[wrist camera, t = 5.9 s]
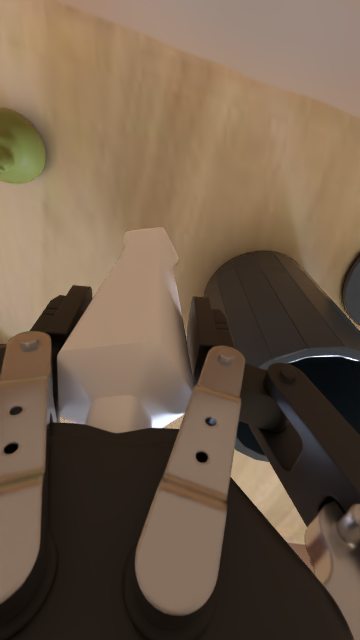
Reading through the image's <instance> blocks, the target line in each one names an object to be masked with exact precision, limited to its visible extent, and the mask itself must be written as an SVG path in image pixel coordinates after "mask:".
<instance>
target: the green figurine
mask: <svg viewBox="0 0 360 640" xmlns="http://www.w3.org/2000/svg"><path fill="white" fill-rule="evenodd" d="M45 161H46V153H45V147H44V144H43V141H42V139H41V136H40V135H39V133H38V131H37V130H36V128H35V127H34V126H33V125H32V123H31V122H30V121H29V120H28V119H26V118H25V117H24V116H23V115H21V114H19V113H18V112H16V111H13V110H10V109H6V108H0V181H2V182H6V183H12V184H21V183H26V182H29V181H31V180H33V179H35V178H36V177H37V176H38V175H39V174H40V173H41V172H42V170H43V168H44V165H45Z"/></svg>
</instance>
